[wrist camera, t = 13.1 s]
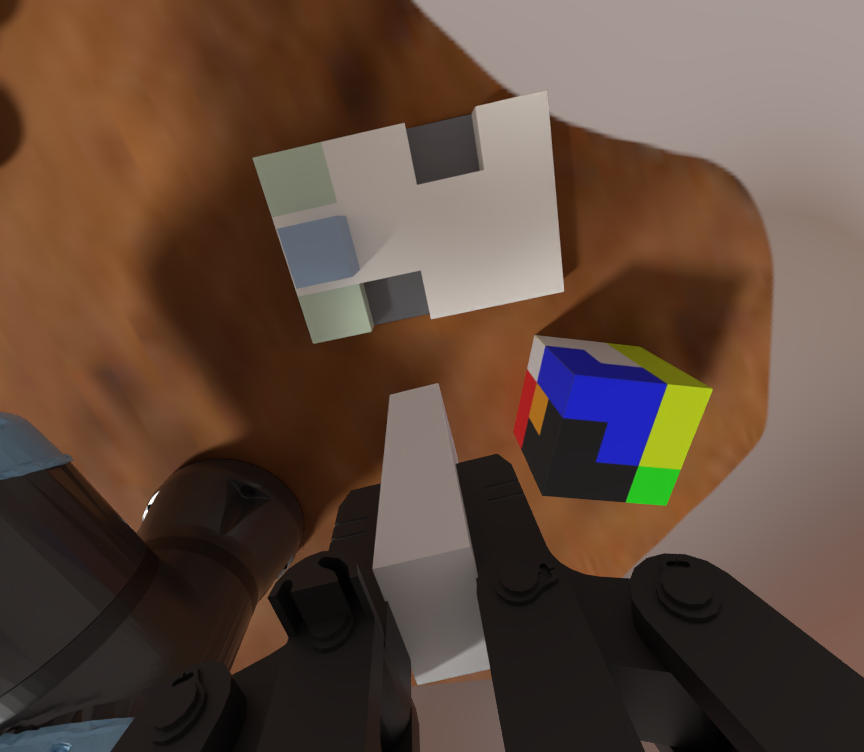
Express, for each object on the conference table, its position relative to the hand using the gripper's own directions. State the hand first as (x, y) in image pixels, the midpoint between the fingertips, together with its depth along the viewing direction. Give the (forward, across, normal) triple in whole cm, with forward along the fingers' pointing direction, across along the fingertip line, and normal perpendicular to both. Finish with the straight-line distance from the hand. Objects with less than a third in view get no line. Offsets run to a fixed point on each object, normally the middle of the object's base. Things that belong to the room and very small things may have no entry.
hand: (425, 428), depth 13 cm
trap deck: (+24, -2, -5) cm, 25 cm away
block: (+22, +5, -5) cm, 23 cm away
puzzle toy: (+24, -13, +12) cm, 30 cm away
